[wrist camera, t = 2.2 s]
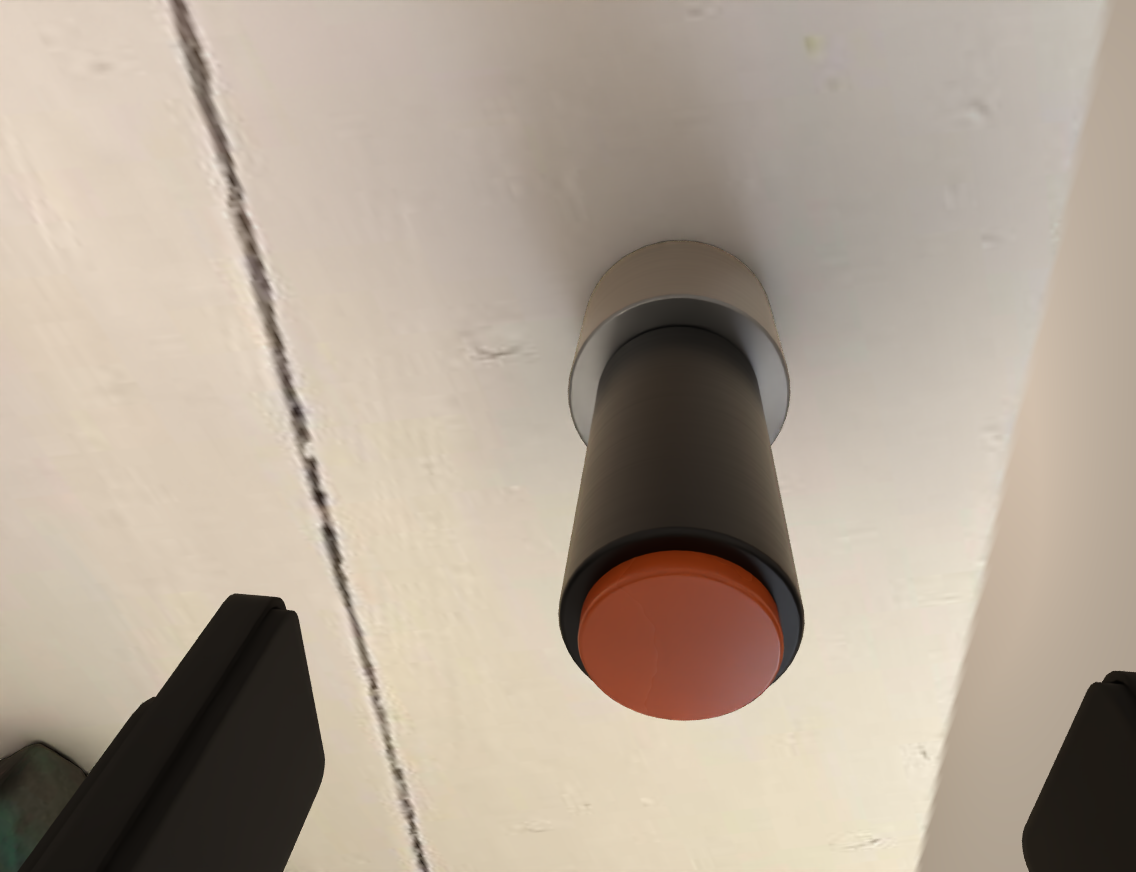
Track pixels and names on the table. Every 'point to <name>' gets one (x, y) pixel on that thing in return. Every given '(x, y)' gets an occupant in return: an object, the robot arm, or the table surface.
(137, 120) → the table surface
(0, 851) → the ceramic cat
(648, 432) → the torch
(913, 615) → the table surface
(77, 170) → the table surface
